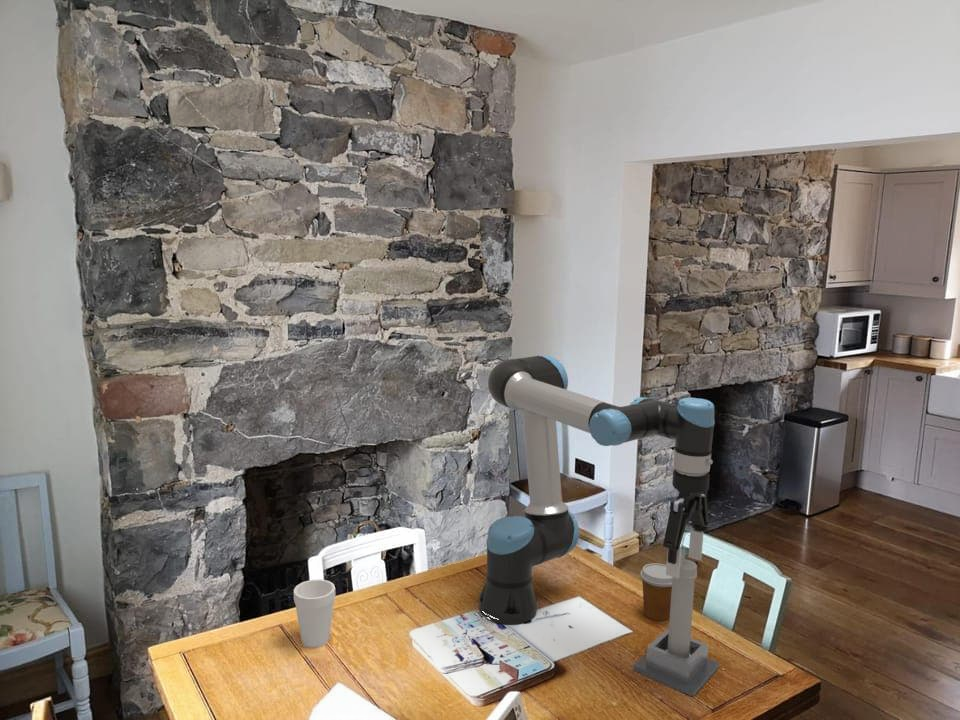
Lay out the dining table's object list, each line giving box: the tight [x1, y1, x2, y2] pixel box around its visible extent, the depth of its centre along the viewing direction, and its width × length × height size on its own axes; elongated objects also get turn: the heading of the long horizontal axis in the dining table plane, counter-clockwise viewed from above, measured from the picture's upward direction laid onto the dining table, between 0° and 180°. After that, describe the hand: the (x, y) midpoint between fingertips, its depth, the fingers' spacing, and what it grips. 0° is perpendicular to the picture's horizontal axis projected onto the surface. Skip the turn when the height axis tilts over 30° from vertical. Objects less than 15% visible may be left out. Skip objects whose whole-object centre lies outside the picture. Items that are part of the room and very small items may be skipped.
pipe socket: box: [632, 628, 720, 698], centre depth 158 cm, size 14×14×6 cm
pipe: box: [666, 546, 698, 660], centre depth 155 cm, size 6×6×30 cm
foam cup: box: [293, 579, 336, 649], centre depth 165 cm, size 10×9×13 cm
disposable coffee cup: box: [640, 562, 673, 621], centre depth 181 cm, size 10×10×12 cm
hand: (684, 567), depth 154 cm, fingers open, 11 cm apart
